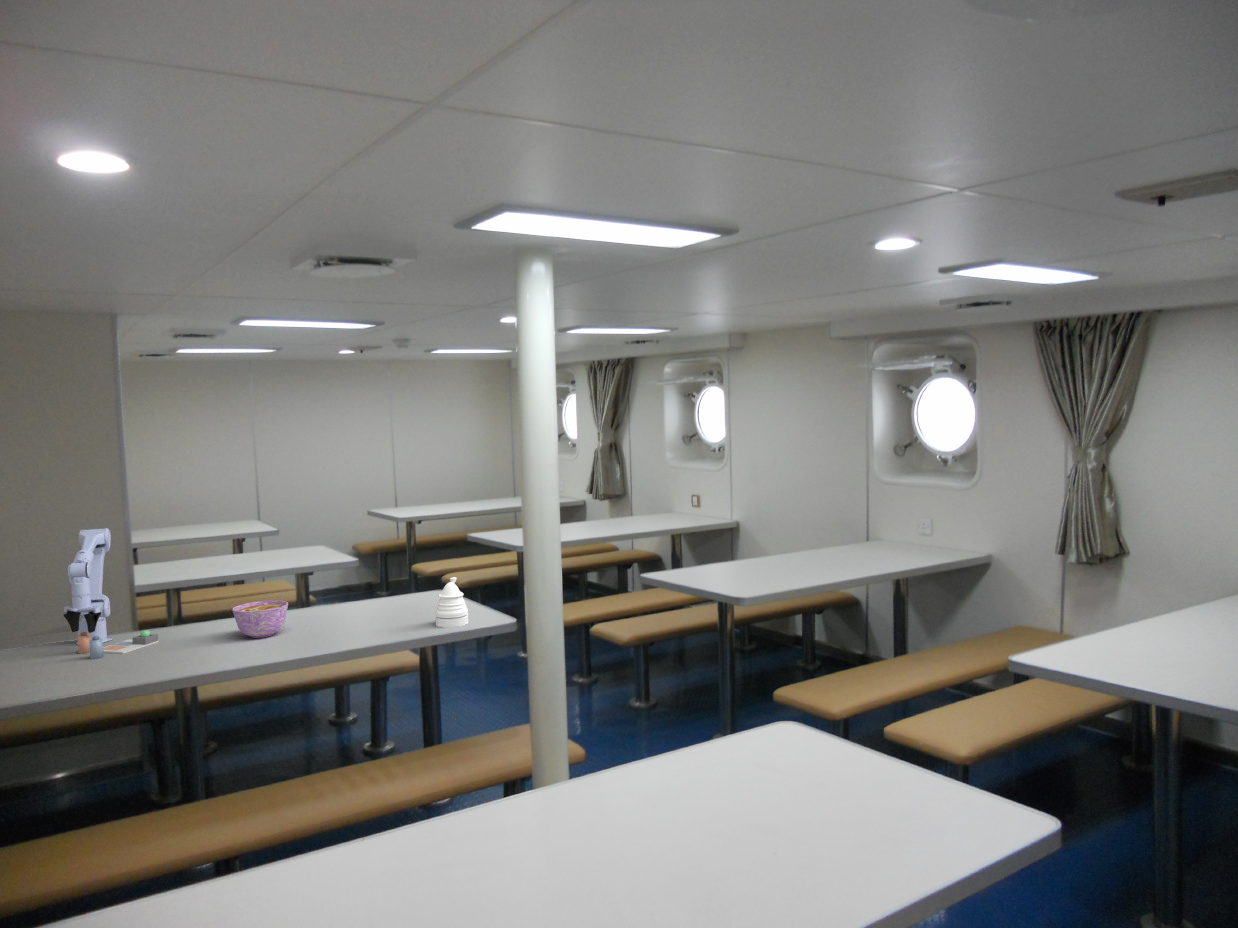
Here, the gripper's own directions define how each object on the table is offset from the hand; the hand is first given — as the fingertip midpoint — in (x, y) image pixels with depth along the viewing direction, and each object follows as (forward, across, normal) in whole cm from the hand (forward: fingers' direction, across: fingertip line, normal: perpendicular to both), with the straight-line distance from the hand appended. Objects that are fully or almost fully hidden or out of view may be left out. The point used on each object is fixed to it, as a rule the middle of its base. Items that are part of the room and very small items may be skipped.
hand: (83, 631), depth 304 cm
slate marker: (+8, +11, -5) cm, 14 cm away
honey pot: (+8, +118, +60) cm, 133 cm away
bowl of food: (+8, +51, +32) cm, 61 cm away
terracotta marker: (+8, 0, 0) cm, 8 cm away
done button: (+6, +14, +14) cm, 20 cm away
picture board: (+8, +10, +9) cm, 15 cm away
